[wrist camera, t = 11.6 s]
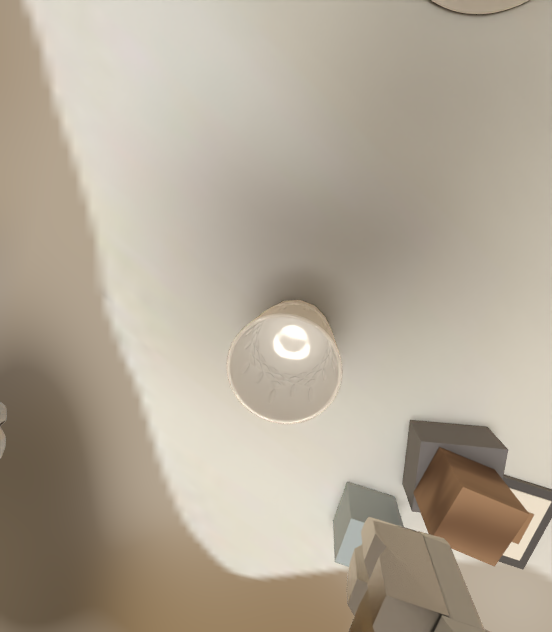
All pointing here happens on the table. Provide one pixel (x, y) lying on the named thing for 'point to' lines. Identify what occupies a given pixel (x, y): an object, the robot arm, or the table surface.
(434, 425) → the charcoal base block
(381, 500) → the slate-blue block
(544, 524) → the card
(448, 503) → the walnut block
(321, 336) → the white cup
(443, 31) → the table surface
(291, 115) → the table surface
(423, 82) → the table surface
